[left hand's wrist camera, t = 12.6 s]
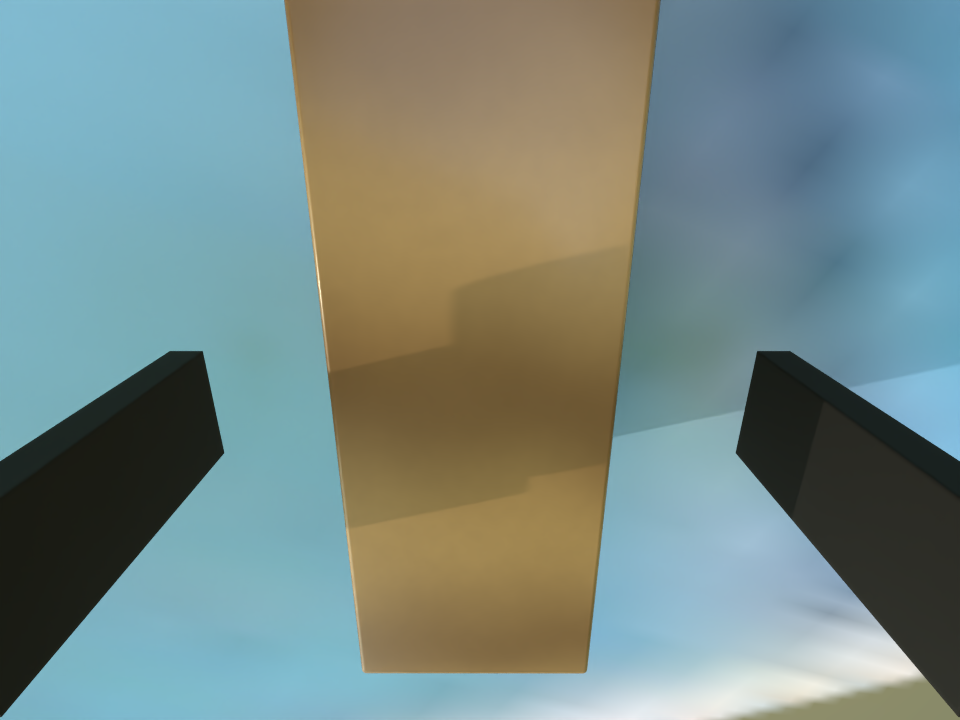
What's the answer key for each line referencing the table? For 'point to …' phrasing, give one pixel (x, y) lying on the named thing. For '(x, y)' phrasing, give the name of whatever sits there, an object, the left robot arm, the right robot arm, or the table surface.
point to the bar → (473, 308)
